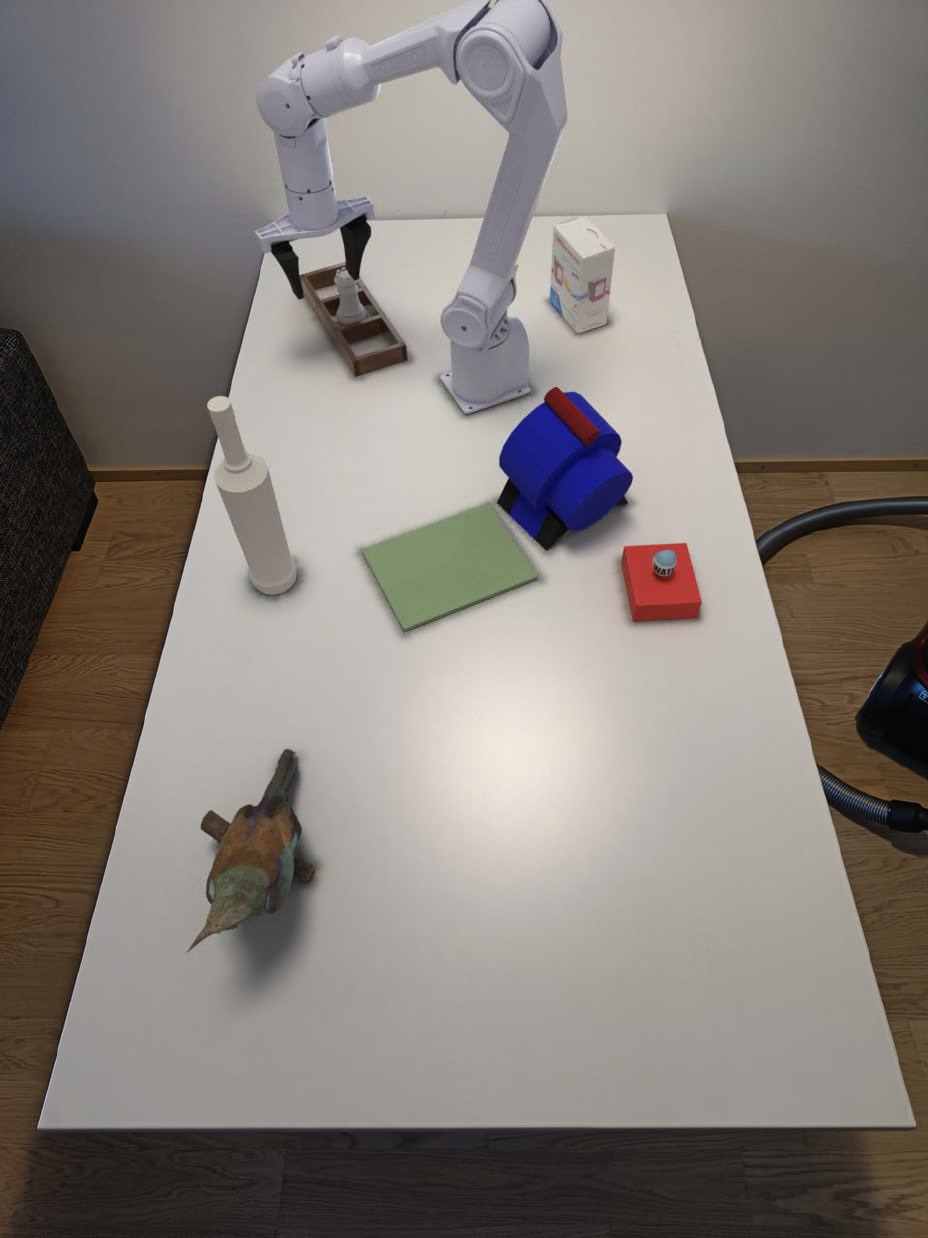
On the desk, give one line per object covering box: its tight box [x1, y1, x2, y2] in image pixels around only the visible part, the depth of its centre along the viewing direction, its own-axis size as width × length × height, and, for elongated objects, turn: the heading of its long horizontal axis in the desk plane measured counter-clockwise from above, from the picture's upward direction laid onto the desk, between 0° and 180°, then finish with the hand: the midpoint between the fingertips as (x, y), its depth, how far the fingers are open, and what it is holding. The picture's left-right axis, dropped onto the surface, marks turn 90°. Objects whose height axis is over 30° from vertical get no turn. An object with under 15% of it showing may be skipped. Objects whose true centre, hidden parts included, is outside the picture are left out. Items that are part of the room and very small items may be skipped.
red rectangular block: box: [620, 542, 703, 622], centre depth 93 cm, size 8×7×6 cm
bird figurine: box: [186, 748, 315, 954], centre depth 75 cm, size 13×10×20 cm
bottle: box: [206, 395, 298, 596], centre depth 87 cm, size 5×5×25 cm
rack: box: [299, 261, 408, 378], centre depth 122 cm, size 8×21×2 cm, turn 25°
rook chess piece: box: [334, 267, 369, 327], centre depth 120 cm, size 4×4×8 cm
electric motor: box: [496, 386, 634, 551], centre depth 97 cm, size 12×12×15 cm
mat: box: [361, 502, 539, 633], centre depth 98 cm, size 16×12×1 cm
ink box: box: [549, 215, 616, 334], centre depth 119 cm, size 9×5×12 cm, turn 25°
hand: (326, 285), depth 112 cm, fingers open, 7 cm apart
